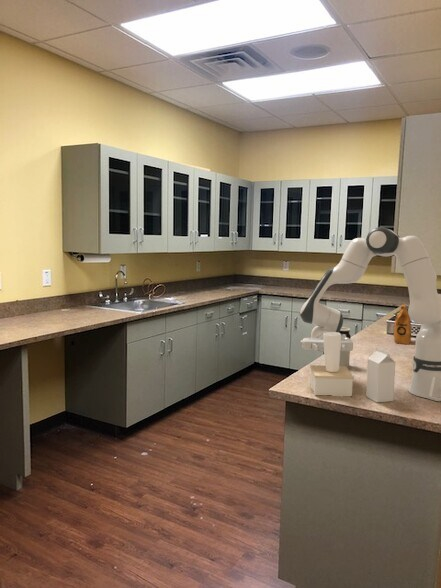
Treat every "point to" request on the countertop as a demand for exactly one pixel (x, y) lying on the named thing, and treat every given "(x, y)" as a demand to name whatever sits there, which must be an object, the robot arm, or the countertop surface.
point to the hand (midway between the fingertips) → (330, 349)
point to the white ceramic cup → (332, 350)
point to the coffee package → (402, 327)
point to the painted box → (331, 381)
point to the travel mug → (344, 354)
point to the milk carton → (380, 377)
